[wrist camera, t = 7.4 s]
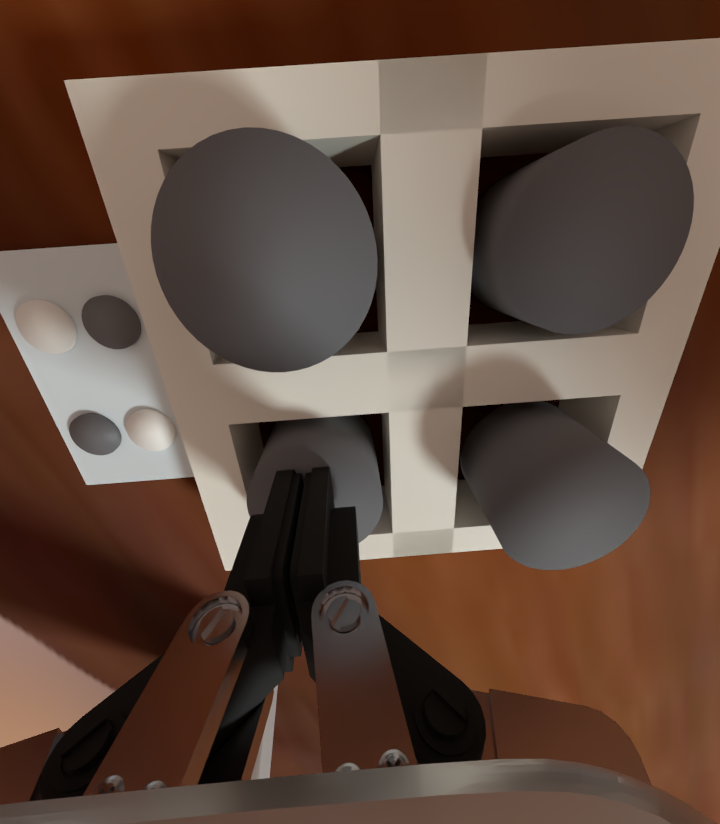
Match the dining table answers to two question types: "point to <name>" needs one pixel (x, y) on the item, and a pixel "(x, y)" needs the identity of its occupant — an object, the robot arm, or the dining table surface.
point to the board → (415, 259)
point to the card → (92, 361)
